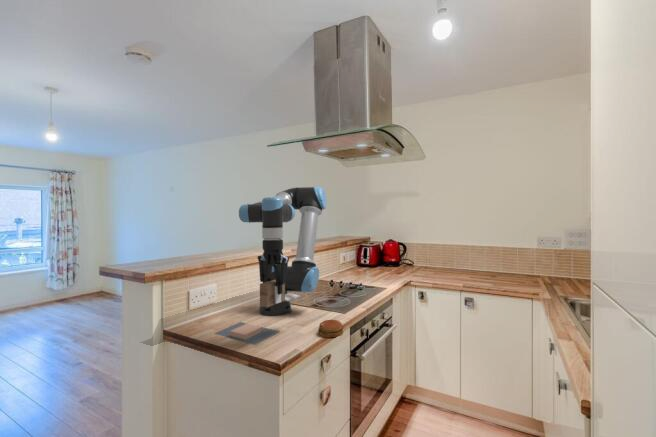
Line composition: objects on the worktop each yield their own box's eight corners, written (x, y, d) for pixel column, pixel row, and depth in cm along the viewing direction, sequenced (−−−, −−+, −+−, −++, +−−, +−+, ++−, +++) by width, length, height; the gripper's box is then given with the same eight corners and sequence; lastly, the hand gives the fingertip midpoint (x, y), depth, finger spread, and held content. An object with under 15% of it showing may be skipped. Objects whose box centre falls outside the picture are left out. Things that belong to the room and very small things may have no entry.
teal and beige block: (247, 323, 126) (229, 331, 118) (261, 326, 122) (245, 334, 114) (247, 328, 126) (230, 336, 118) (261, 332, 122) (245, 340, 114)
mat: (280, 332, 123) (280, 331, 123) (255, 346, 110) (255, 344, 110) (240, 323, 134) (240, 322, 134) (214, 334, 122) (214, 333, 122)
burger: (347, 334, 120) (347, 322, 120) (328, 340, 115) (327, 328, 115) (333, 327, 128) (333, 316, 128) (314, 332, 123) (314, 320, 123)
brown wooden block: (270, 308, 109) (269, 285, 108) (257, 305, 112) (257, 283, 112) (299, 296, 124) (299, 276, 124) (288, 294, 127) (288, 275, 127)
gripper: (296, 239, 113) (297, 302, 114) (262, 237, 122) (263, 296, 122) (284, 240, 107) (284, 307, 107) (249, 239, 115) (250, 301, 116)
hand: (273, 301), depth 115 cm, fingers closed on brown wooden block, 3 cm apart
